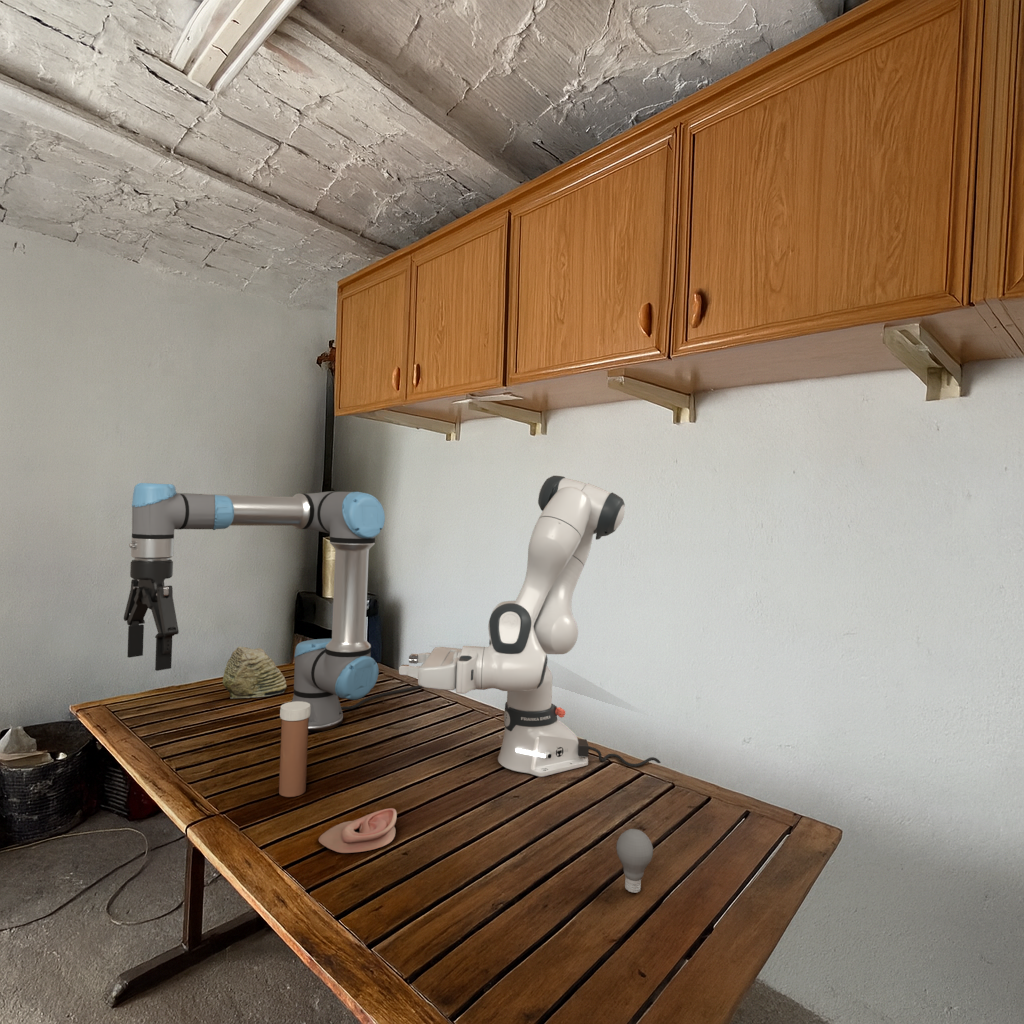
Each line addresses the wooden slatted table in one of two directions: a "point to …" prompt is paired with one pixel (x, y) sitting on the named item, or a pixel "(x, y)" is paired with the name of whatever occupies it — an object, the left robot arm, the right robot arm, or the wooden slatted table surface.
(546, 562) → the right robot arm
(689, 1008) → the wooden slatted table surface
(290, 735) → the jar
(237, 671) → the fossil
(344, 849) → the anatomical model
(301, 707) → the lid
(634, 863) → the light bulb
